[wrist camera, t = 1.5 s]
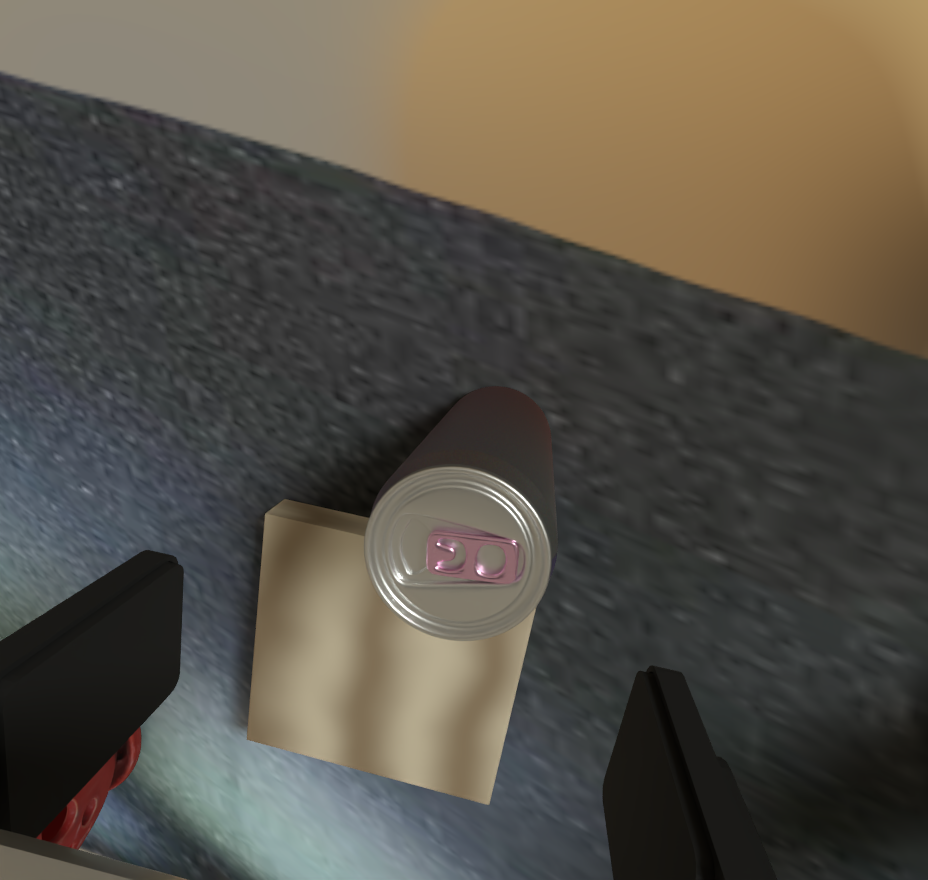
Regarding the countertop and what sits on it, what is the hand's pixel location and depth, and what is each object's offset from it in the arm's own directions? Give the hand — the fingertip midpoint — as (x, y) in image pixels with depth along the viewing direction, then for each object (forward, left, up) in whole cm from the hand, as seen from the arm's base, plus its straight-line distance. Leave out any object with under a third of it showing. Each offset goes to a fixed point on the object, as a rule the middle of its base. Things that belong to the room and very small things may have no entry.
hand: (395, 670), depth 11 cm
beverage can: (0, 0, -21) cm, 21 cm away
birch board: (+4, +15, -20) cm, 25 cm away
